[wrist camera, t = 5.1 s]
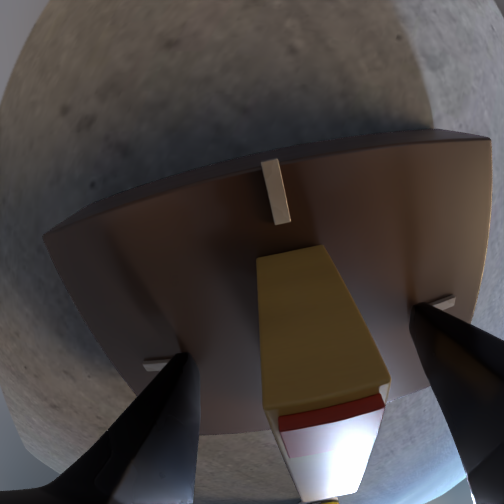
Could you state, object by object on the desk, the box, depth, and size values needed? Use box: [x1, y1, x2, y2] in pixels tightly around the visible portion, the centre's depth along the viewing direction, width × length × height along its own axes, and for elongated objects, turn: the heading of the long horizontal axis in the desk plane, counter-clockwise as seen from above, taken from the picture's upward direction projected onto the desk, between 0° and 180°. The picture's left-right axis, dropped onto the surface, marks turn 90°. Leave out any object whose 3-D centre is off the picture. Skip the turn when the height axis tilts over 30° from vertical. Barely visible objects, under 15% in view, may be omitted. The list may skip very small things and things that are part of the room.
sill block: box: [42, 129, 492, 435], centre depth 9 cm, size 13×10×3 cm
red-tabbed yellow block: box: [256, 245, 392, 502], centre depth 6 cm, size 6×2×4 cm, turn 13°
